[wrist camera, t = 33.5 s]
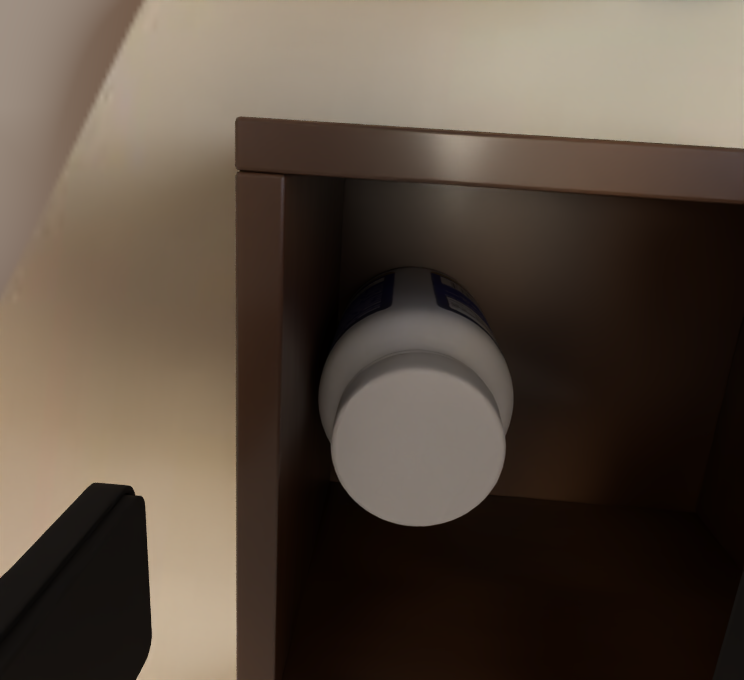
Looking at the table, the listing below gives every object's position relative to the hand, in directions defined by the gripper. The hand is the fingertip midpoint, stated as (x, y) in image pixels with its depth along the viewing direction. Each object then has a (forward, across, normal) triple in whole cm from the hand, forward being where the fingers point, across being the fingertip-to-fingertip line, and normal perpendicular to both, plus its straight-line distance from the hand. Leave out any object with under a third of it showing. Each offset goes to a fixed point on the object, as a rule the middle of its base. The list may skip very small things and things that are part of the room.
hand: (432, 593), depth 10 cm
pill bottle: (+14, 0, 0) cm, 14 cm away
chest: (+14, -4, 0) cm, 15 cm away
